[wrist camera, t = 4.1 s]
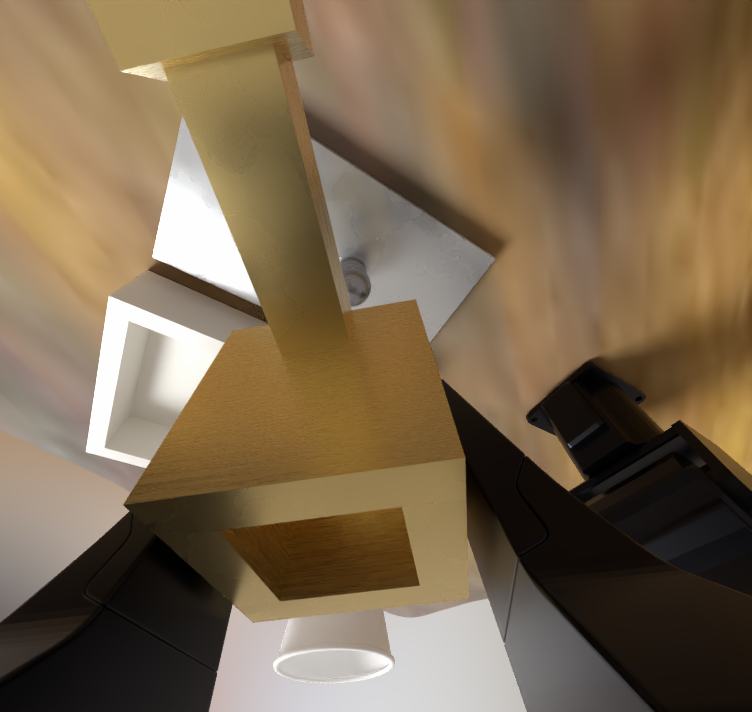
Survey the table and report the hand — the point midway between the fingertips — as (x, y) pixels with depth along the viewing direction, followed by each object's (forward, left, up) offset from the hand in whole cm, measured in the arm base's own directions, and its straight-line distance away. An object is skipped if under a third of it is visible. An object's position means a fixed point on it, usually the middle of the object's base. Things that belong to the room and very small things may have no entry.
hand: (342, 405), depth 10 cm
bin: (+1, +13, -12) cm, 17 cm away
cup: (-13, +27, -12) cm, 32 cm away
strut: (+2, -3, -1) cm, 3 cm away
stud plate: (+1, 0, -12) cm, 12 cm away
